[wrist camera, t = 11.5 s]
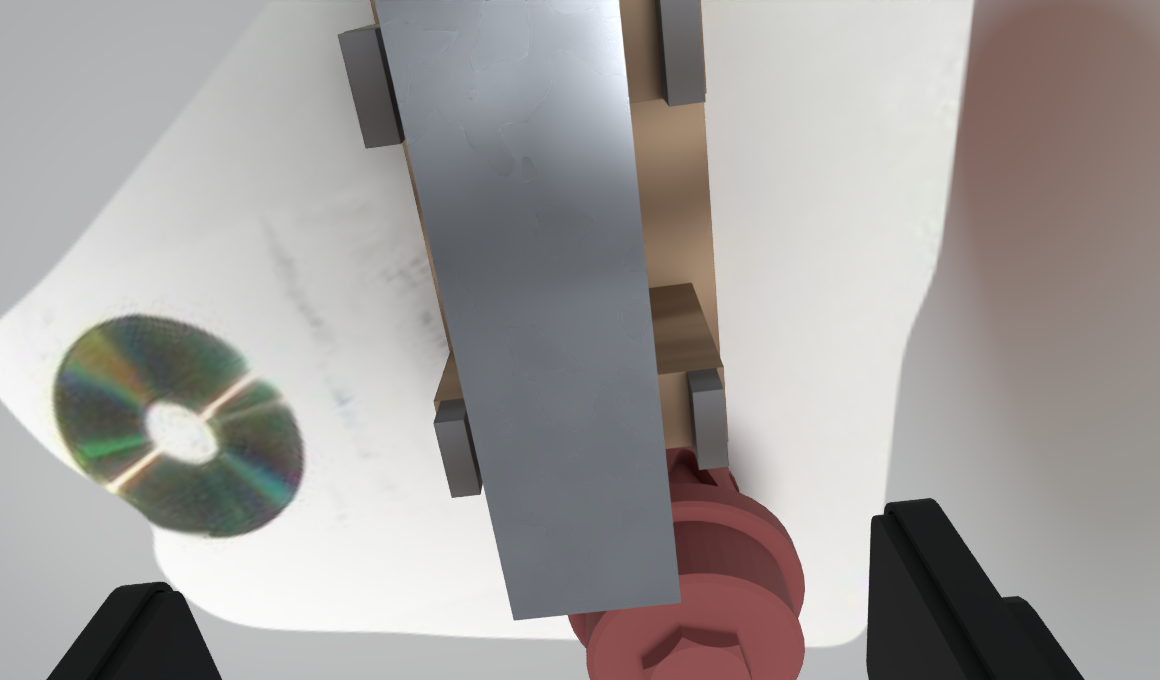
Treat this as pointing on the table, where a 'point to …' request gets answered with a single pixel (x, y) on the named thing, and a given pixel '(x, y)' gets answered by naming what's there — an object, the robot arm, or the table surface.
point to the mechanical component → (709, 593)
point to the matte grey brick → (543, 287)
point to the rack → (668, 212)
